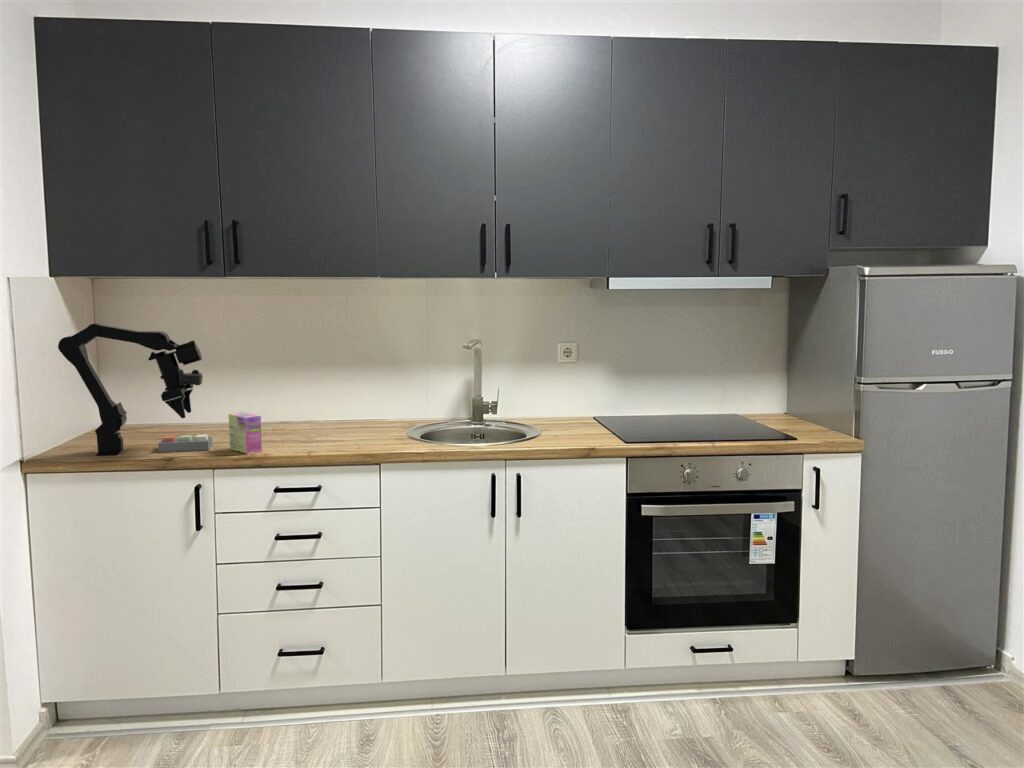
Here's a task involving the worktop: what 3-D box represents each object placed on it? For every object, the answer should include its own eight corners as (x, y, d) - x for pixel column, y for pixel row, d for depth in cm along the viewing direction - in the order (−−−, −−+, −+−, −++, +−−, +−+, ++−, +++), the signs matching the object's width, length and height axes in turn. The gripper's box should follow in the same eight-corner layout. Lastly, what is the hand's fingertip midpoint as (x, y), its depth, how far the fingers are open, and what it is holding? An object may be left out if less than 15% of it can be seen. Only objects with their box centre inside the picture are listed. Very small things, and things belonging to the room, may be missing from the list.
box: (262, 451, 252) (261, 415, 250) (246, 454, 248) (244, 417, 246) (245, 447, 259) (244, 411, 257) (229, 449, 255) (227, 413, 253)
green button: (179, 443, 254) (179, 437, 253) (181, 441, 257) (181, 435, 256) (190, 443, 254) (189, 437, 254) (192, 441, 257) (191, 435, 257)
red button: (163, 444, 253) (162, 438, 252) (165, 442, 256) (164, 436, 255) (173, 443, 253) (173, 437, 253) (175, 441, 256) (175, 435, 256)
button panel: (158, 452, 251) (158, 443, 250) (164, 447, 258) (163, 438, 257) (208, 450, 254) (207, 441, 253) (212, 445, 261) (211, 436, 260)
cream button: (195, 442, 255) (195, 436, 254) (197, 440, 258) (197, 434, 257) (206, 442, 255) (206, 436, 255) (208, 440, 258) (207, 434, 258)
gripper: (189, 365, 243) (206, 413, 246) (200, 358, 261) (216, 402, 264) (152, 376, 242) (170, 423, 245) (166, 368, 260) (183, 412, 263)
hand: (186, 415), depth 254 cm, fingers open, 9 cm apart
